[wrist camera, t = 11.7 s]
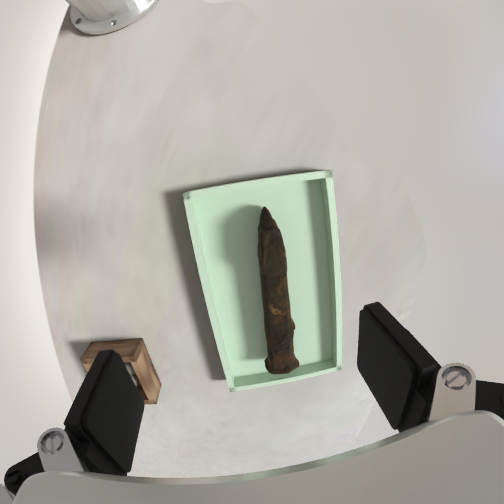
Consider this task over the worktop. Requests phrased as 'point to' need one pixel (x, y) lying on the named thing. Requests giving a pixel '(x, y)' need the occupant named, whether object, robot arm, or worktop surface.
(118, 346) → the gravel box
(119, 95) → the worktop surface
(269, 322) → the dark brown tapered bar
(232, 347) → the tray
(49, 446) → the robot arm
